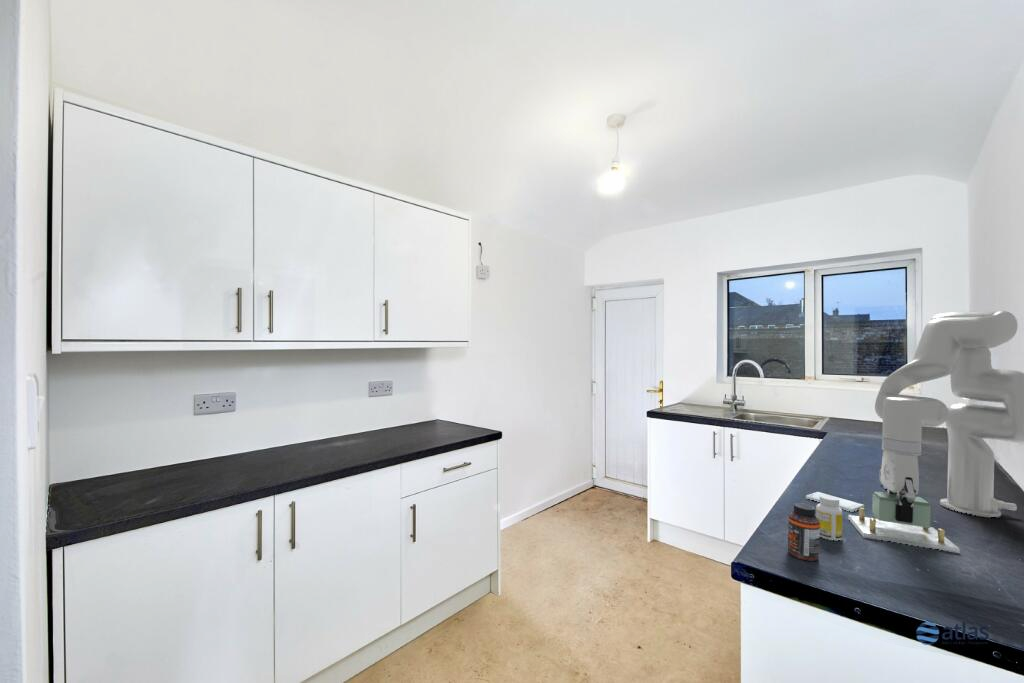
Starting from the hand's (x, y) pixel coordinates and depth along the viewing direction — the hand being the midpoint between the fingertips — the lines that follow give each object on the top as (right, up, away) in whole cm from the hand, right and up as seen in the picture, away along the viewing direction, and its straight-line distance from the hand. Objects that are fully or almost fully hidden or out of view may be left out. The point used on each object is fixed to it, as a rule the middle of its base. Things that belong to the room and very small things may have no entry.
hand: (899, 516), depth 111 cm
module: (0, -1, 0) cm, 1 cm away
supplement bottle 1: (-33, -4, -13) cm, 36 cm away
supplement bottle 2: (-20, -4, -2) cm, 20 cm away
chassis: (0, -5, 0) cm, 5 cm away
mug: (+31, -6, +38) cm, 49 cm away
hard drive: (0, -5, +22) cm, 23 cm away
